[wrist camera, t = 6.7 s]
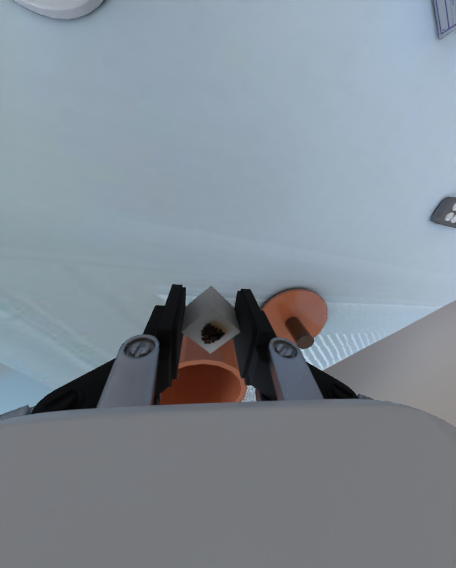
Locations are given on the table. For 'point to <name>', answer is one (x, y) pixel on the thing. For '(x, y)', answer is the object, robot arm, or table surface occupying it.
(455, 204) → the key chain
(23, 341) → the table surface
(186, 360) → the canister
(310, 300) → the lid
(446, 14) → the medicine box
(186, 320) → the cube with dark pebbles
